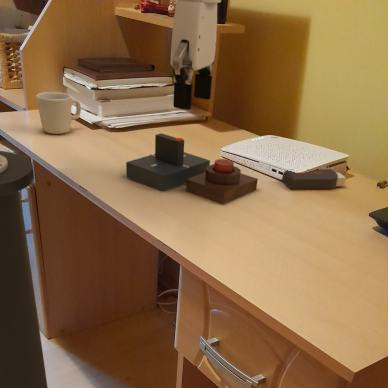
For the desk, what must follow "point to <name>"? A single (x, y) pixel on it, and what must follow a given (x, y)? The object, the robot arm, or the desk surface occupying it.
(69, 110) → the cup
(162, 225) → the desk surface
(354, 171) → the desk surface
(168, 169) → the panel
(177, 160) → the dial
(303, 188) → the usb drive
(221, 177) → the button block
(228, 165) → the button
